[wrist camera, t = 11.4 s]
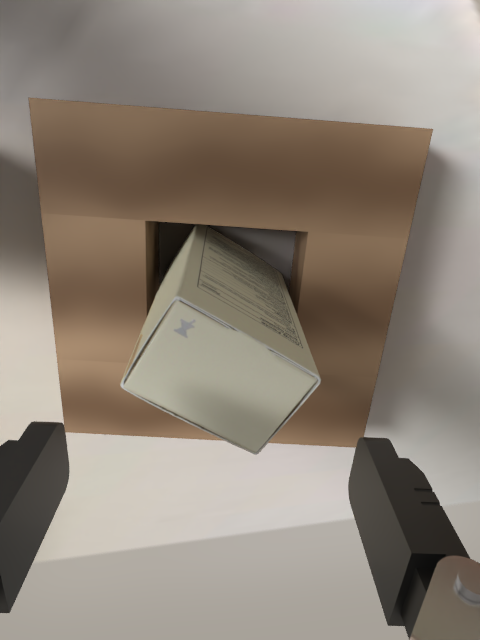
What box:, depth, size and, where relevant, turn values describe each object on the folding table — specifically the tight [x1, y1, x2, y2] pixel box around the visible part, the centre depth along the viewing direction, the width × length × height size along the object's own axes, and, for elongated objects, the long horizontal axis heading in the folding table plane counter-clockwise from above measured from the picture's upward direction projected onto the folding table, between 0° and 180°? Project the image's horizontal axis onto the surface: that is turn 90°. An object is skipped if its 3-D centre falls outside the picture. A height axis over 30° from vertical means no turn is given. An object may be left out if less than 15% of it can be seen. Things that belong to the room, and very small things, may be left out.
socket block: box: [29, 98, 433, 447], centre depth 25 cm, size 18×18×4 cm
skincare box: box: [120, 224, 321, 454], centre depth 21 cm, size 6×4×12 cm
